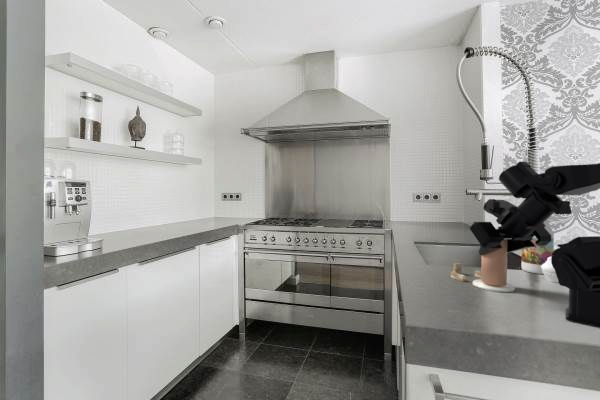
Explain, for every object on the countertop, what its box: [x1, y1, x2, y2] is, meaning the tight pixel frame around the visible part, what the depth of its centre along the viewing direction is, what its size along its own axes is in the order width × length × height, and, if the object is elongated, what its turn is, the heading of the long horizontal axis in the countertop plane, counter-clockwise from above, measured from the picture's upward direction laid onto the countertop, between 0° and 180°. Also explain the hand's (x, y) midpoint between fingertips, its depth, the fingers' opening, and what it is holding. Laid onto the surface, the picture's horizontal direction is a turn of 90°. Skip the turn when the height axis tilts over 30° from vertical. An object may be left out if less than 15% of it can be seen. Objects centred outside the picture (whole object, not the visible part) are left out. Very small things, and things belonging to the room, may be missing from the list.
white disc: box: [472, 278, 516, 293], centre depth 78 cm, size 9×9×1 cm
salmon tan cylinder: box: [480, 239, 508, 286], centre depth 77 cm, size 6×6×13 cm
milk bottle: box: [520, 218, 555, 275], centre depth 94 cm, size 8×8×20 cm
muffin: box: [541, 257, 559, 284], centre depth 83 cm, size 6×6×7 cm
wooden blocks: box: [450, 262, 481, 283], centre depth 87 cm, size 8×9×3 cm
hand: (489, 253), depth 79 cm, fingers closed on salmon tan cylinder, 5 cm apart
